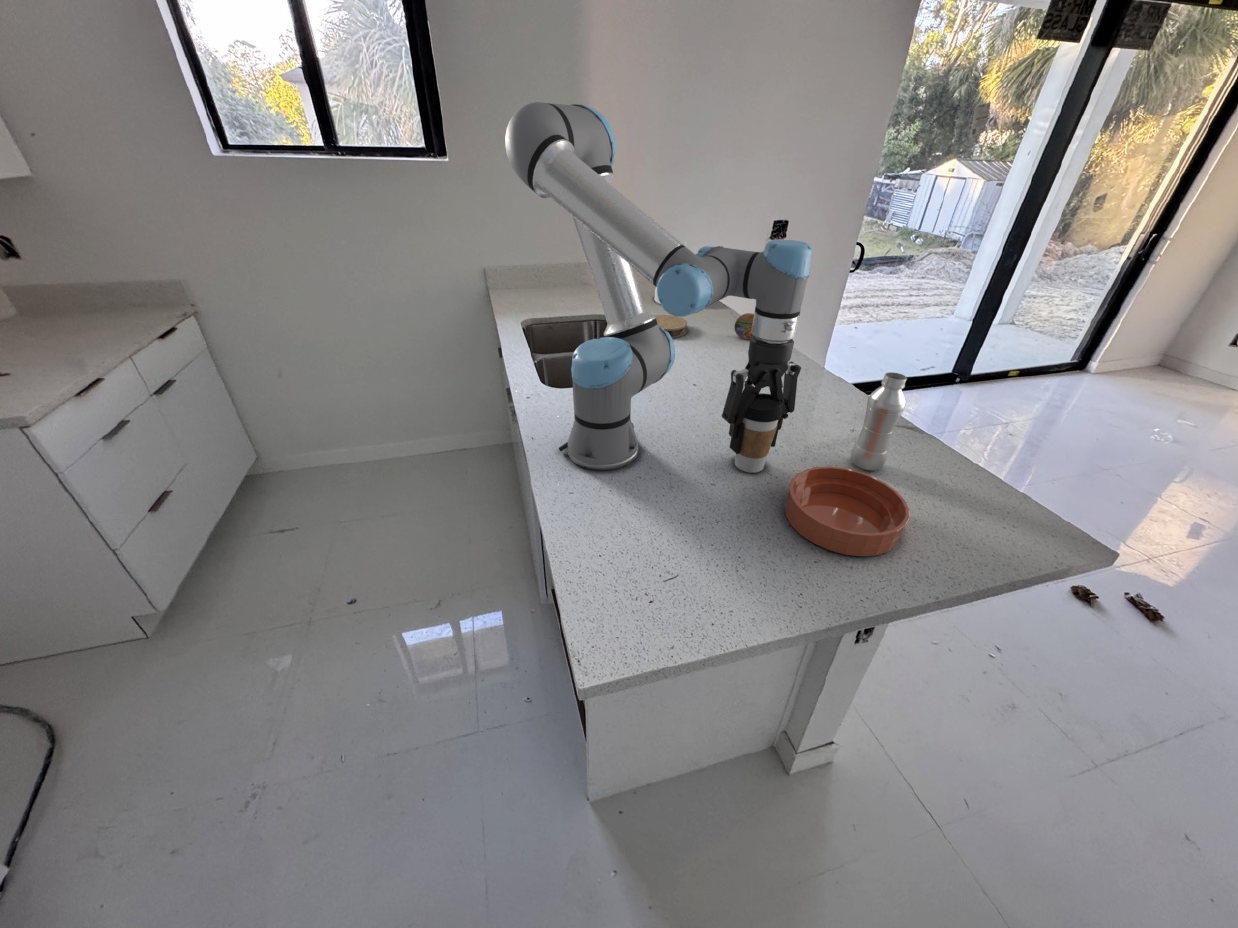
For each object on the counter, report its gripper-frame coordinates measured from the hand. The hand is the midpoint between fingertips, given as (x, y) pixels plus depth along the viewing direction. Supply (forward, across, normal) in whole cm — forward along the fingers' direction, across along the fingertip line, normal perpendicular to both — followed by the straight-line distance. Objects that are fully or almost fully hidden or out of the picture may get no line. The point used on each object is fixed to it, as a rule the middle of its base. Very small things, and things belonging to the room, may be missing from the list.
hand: (752, 446), depth 99 cm
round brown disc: (+5, +18, +84) cm, 86 cm away
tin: (+5, +44, +66) cm, 79 cm away
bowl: (+5, +6, -20) cm, 22 cm away
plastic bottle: (+5, +23, -8) cm, 25 cm away
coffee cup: (+5, 0, 0) cm, 5 cm away
